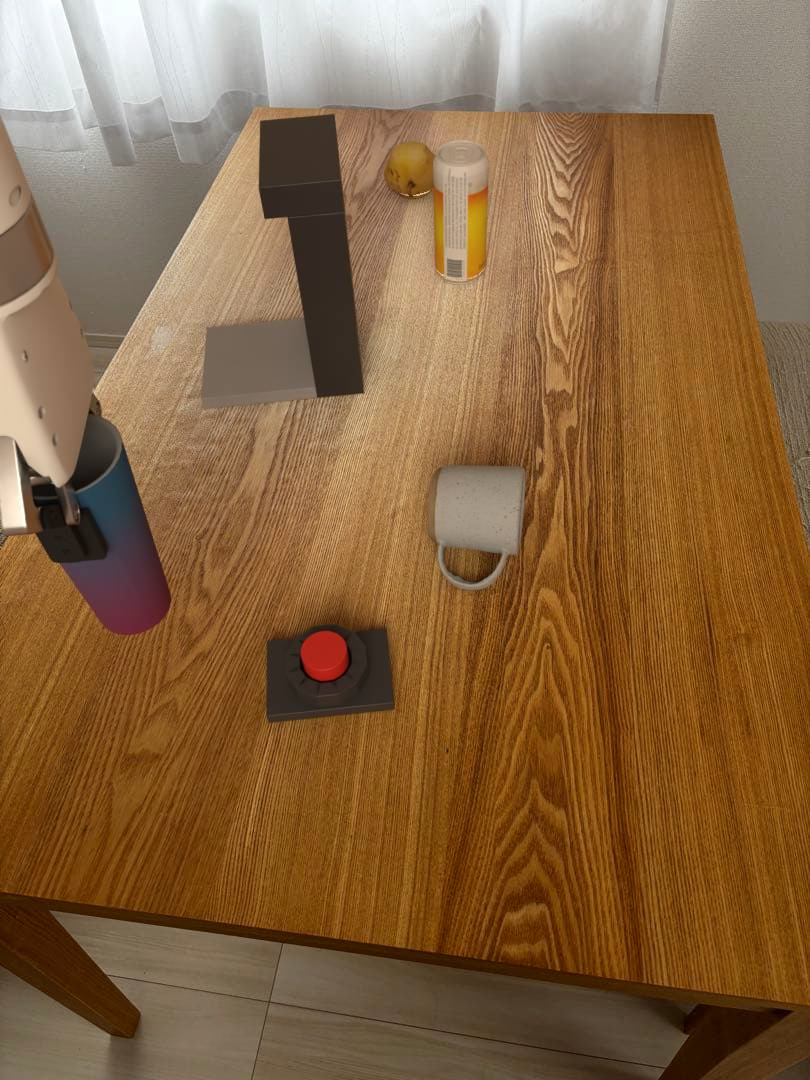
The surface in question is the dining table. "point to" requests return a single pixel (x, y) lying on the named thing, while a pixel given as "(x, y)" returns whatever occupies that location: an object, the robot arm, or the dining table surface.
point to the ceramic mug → (476, 513)
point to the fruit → (410, 169)
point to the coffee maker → (323, 277)
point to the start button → (324, 656)
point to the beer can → (460, 210)
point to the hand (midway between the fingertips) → (89, 511)
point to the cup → (114, 536)
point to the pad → (347, 694)
